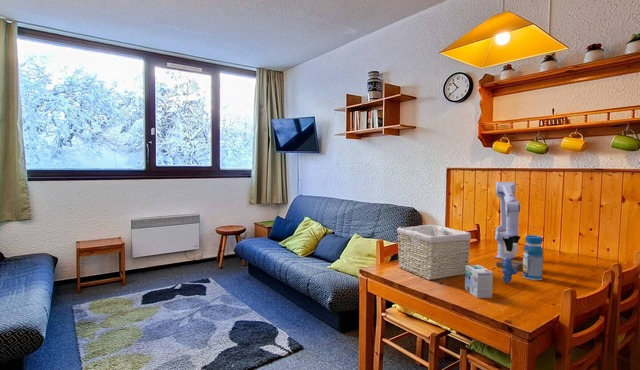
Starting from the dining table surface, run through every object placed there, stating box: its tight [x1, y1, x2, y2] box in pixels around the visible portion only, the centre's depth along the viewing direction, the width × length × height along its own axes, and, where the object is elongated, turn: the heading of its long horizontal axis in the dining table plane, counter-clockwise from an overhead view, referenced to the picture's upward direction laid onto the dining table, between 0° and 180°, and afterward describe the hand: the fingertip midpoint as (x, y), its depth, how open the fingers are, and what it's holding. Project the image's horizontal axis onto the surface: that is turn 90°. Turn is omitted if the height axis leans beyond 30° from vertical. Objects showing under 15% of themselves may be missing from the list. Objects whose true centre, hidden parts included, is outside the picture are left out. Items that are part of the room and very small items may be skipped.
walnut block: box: [495, 259, 523, 272], centre depth 186 cm, size 10×10×3 cm
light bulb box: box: [464, 264, 494, 299], centre depth 148 cm, size 11×7×11 cm, turn 5°
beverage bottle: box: [522, 234, 544, 281], centre depth 168 cm, size 8×8×20 cm
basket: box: [396, 224, 472, 281], centre depth 180 cm, size 27×27×22 cm
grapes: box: [501, 258, 519, 284], centre depth 160 cm, size 12×7×12 cm, turn 144°
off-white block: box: [504, 243, 519, 255], centre depth 186 cm, size 5×5×5 cm
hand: (511, 250), depth 185 cm, fingers closed on off-white block, 5 cm apart
